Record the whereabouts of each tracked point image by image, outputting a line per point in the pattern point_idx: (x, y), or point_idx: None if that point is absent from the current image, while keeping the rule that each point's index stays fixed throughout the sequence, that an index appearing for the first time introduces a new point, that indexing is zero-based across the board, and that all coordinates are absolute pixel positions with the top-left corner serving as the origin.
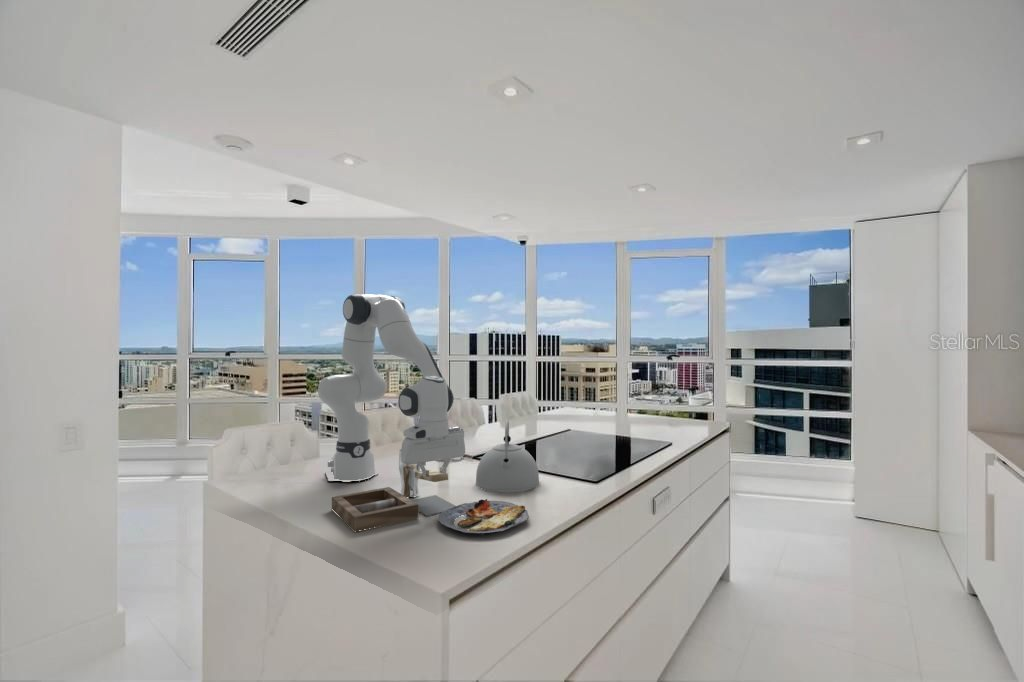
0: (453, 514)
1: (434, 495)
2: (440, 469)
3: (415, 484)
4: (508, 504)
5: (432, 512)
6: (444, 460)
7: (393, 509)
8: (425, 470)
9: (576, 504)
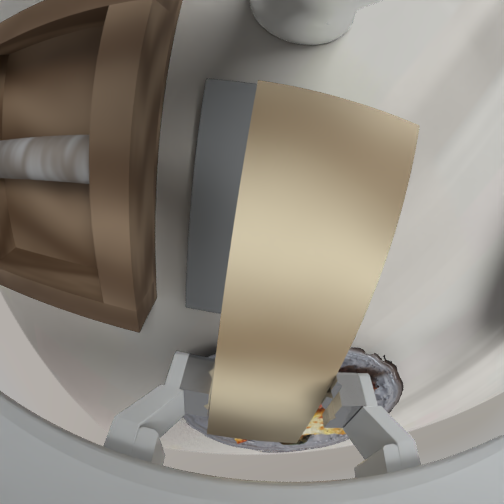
0: None
1: None
2: (332, 404)
3: (327, 19)
4: (387, 403)
5: (219, 301)
6: (366, 469)
7: (57, 307)
8: (173, 417)
9: (455, 408)
